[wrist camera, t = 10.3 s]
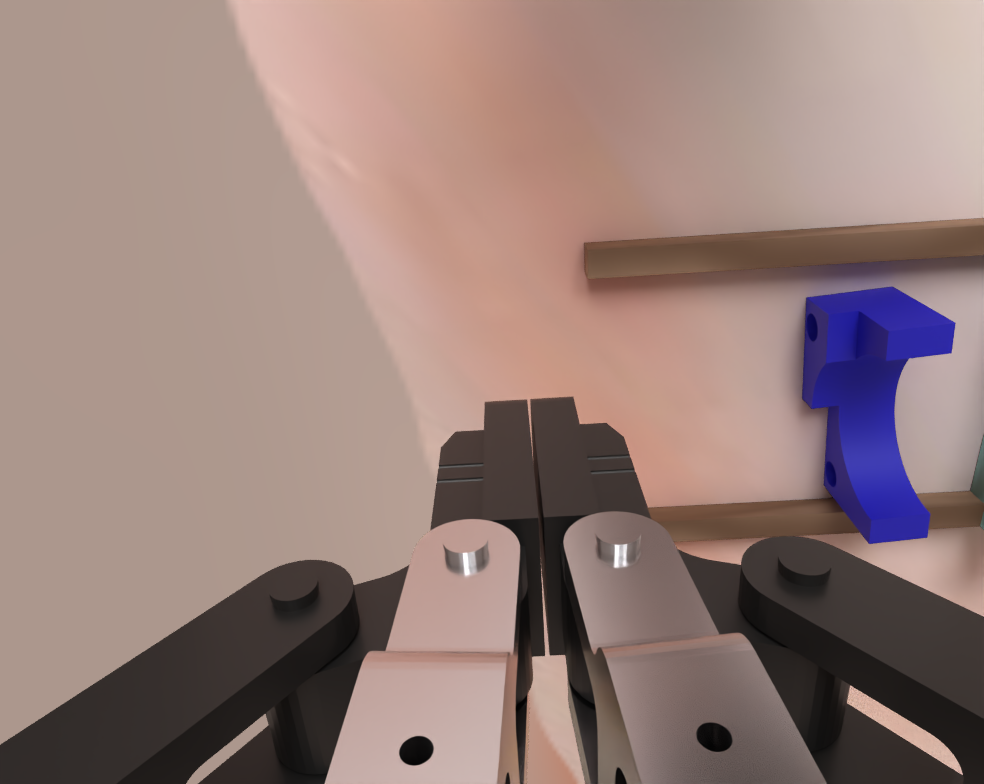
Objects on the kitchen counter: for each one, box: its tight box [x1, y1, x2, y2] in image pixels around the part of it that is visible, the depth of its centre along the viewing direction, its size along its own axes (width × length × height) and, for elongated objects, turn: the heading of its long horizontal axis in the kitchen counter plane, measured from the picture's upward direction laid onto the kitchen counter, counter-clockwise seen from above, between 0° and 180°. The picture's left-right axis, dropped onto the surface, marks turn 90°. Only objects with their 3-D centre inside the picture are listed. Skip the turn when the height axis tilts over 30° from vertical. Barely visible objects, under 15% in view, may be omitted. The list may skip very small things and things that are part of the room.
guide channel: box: [584, 218, 984, 542], centre depth 39 cm, size 18×26×6 cm
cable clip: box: [802, 287, 955, 544], centre depth 39 cm, size 12×4×6 cm, turn 8°
